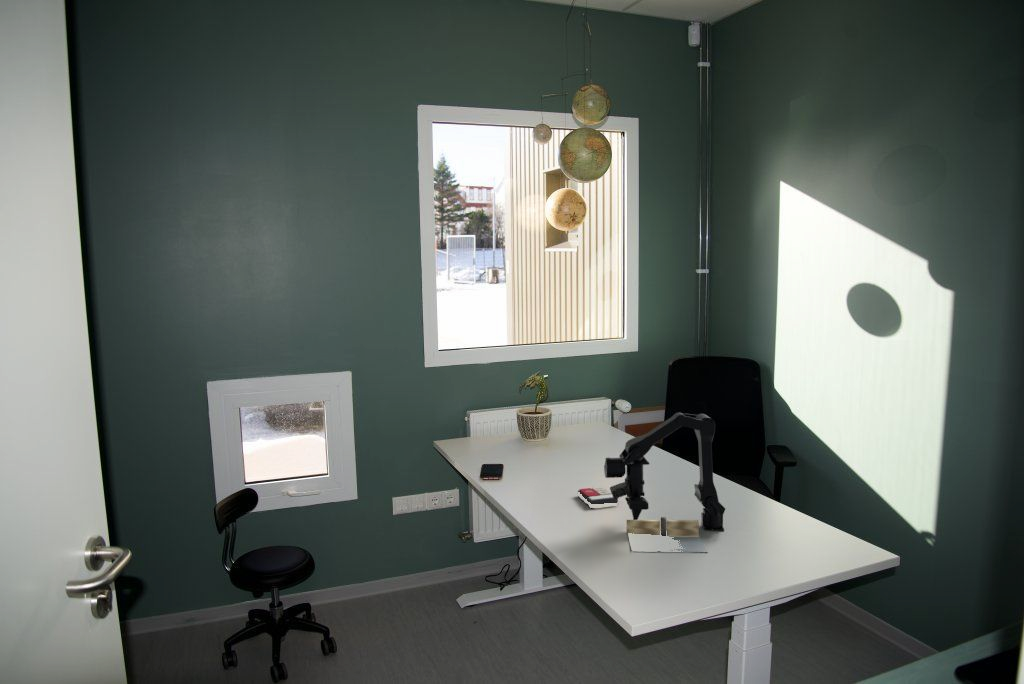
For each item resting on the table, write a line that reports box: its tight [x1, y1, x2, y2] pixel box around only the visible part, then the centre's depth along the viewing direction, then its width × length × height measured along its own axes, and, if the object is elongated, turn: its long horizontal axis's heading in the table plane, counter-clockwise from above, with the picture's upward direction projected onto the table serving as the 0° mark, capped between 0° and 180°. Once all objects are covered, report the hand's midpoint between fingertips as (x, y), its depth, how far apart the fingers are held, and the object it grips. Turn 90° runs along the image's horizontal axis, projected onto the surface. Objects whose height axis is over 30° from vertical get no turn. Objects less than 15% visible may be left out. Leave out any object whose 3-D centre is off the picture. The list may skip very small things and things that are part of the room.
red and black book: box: [577, 486, 619, 504], centre depth 260 cm, size 11×4×15 cm
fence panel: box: [626, 519, 661, 535], centre depth 225 cm, size 11×1×5 cm, turn 85°
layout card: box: [669, 534, 708, 554], centre depth 221 cm, size 24×17×1 cm
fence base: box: [660, 516, 700, 536], centre depth 224 cm, size 12×2×6 cm, turn 85°
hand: (635, 520), depth 230 cm, fingers closed
